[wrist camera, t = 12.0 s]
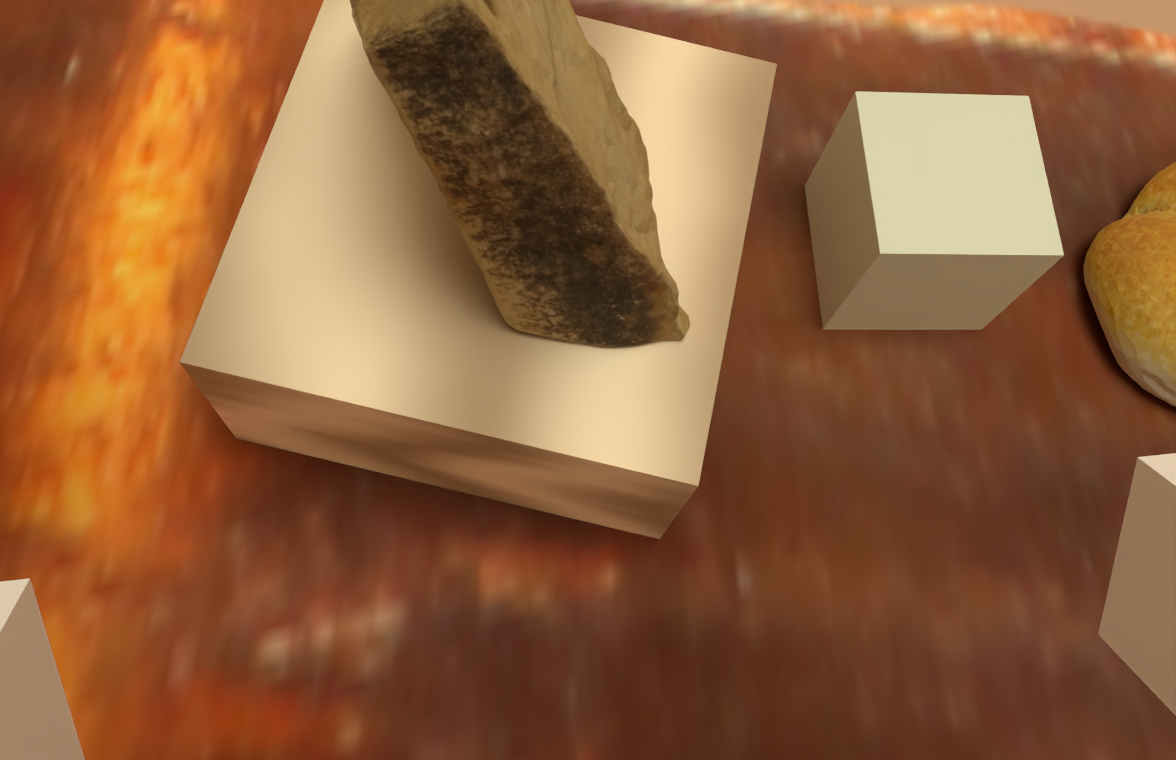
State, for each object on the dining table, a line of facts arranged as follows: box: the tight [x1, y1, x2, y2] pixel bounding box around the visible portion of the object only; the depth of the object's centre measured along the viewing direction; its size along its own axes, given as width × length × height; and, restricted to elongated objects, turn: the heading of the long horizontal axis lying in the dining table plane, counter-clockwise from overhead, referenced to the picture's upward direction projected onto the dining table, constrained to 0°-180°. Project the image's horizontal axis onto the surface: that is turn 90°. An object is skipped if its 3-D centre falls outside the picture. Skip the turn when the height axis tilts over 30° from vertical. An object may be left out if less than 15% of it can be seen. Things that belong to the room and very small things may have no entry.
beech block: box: [180, 0, 777, 539], centre depth 28 cm, size 12×12×6 cm
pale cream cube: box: [805, 92, 1064, 330], centre depth 30 cm, size 5×5×5 cm
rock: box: [350, 0, 690, 347], centre depth 23 cm, size 11×9×10 cm
